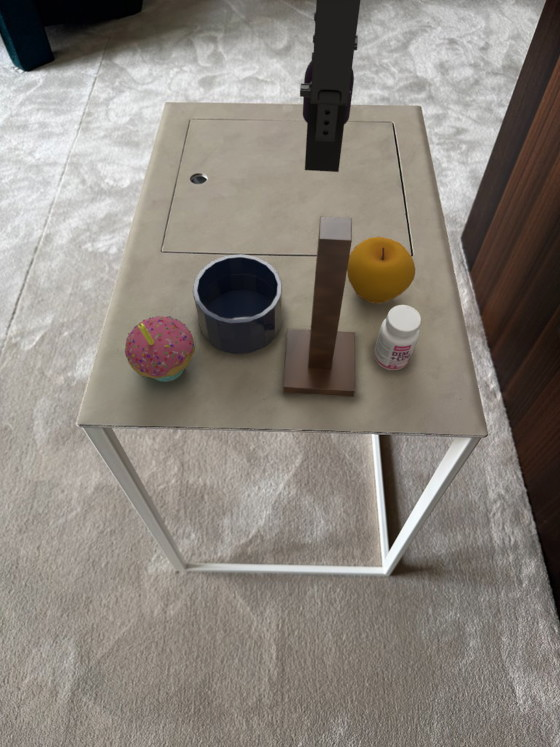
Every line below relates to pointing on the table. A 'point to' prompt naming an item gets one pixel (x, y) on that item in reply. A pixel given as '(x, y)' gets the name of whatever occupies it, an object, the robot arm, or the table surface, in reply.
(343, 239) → the stand
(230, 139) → the table surface
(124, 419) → the table surface
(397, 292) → the apple
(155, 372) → the cupcake
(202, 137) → the table surface
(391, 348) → the pill bottle
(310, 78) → the purple plum
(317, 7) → the robot arm
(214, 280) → the pot
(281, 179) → the table surface
